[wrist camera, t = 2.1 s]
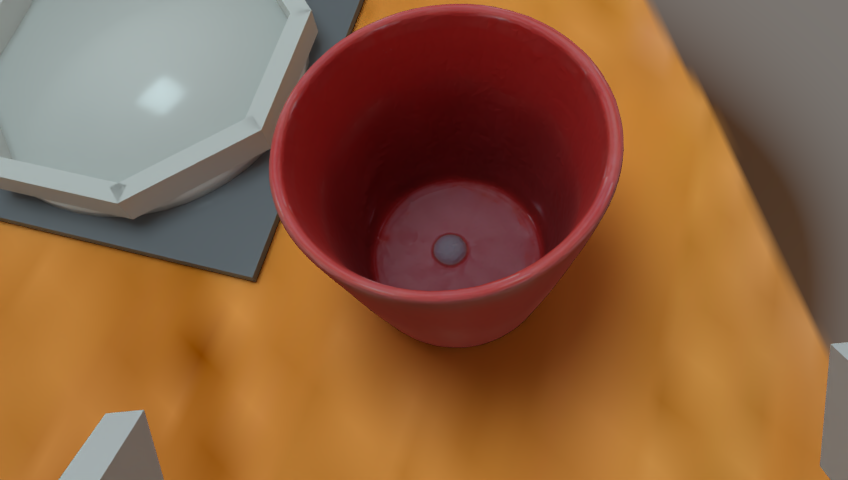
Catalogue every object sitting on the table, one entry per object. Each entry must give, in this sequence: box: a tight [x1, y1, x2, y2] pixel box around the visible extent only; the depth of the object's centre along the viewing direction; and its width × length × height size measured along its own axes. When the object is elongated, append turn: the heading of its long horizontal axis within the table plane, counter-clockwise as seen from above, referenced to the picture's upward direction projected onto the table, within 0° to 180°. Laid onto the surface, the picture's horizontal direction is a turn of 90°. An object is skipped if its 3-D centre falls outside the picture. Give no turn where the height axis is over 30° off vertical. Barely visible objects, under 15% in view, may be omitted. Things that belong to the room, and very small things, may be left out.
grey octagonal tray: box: [0, 0, 364, 282], centre depth 36 cm, size 18×18×3 cm
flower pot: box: [269, 4, 624, 347], centre depth 27 cm, size 11×11×10 cm
